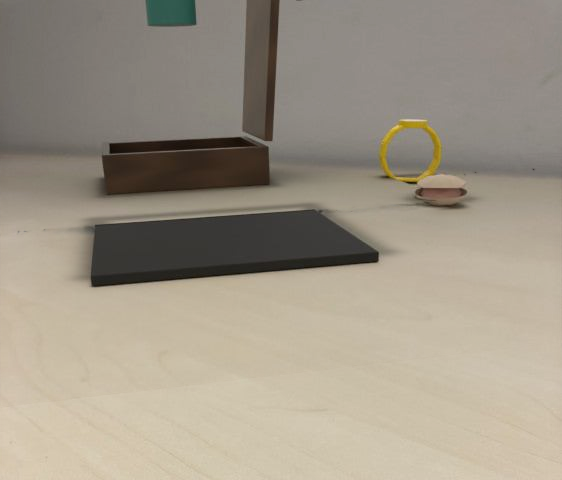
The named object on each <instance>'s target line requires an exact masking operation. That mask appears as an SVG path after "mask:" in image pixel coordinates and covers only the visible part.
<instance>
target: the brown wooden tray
mask: <svg viewBox="0 0 562 480" xmlns="http://www.w3.org/2000/svg"><path fill="white" fill-rule="evenodd" d="M269 149H270V147H269V146H268V145H266V144H264V143H262V142H259V141H258V140H255V139H253V138H251V137H248V136H246V135H237V136H235V135H233V136H218V137H197V138H196V137H195V138H193V137H192V138H179V139H178V138H174V139H155V140H154V139H153V140H135V141H134V140H133V141H115V142H113V141H112V142H103V143H102V147H101V162H102V169H103V170H102V171H103V178H104V186H105V193H106V196H117V195H130V194H131V195H133V194H134V195H135V194H147V193H164V192H179V191H180V192H181V191H182V192H183V191H195V190H211V189H212V190H213V189H227V188H228V189H229V188H242V187H245V188H246V187H257V186H258V187H261V186H270V185H271V178H270V176H271V175H270V173H271V172H270V150H269Z"/></svg>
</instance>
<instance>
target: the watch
mask: <svg viewBox="0 0 562 480" xmlns="http://www.w3.org/2000/svg"><path fill="white" fill-rule="evenodd" d="M428 124H429V123H428V120H427V119H416V118H415V119H414V118H413V119H412V118H404V119H399V120H398V124H397V125H395V126H393V127H392V128H390V130H388V131H387V133H386V134H385V136H384V138H383V139H382V140H381V142H380V147H379V152H378V160H379V164H380V167H381V170H382V172H383V173H384V174H385V176H387V177H389V178H391V179H394V180H396V181H400V182H402V183H417V182H418V181H420V180H422V179H424V178H425V177H427V176H433V175H435V173H436V171H437V169H438V167H439V165H440V163H441V160H442V143H441V141H440V138H439V136H438V134H437V132H436V131H435V130H434V129H433V128H431V127H430V126H429V125H428ZM404 129H422V131H424V132H425V133H426V134H428V135H429V137H430V139H431V142H432V145H433V157H432V160H431V162H430V164H429V166H428V167H427V170H425V172H423V173H422V174H421V175H419V176H418V177H403V176H401V177H400V176H395V175H394V174H393V172H392V171H390V168H389V165H388V162H387V159H386V158H387V152H388V148H389V147H388V145H389V144H390V142H391V141H392V139H393V138H394V136H395V135H396V134H397V133H399V132H401V131H403V130H404Z"/></svg>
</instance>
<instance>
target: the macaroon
mask: <svg viewBox="0 0 562 480" xmlns="http://www.w3.org/2000/svg"><path fill="white" fill-rule="evenodd" d="M414 188H415V190H414V195H415V197H416V199H417V200H418V199H419V200H423V203H424V204H426V205H429V206H430V205H431V206H437V207H442V206H452V205H455V204H456V203H458V202H460V201H463V200H465V198H466V196H467V194H468V190H467V189H469V187H468V185H467V182H466V181H465V180H463V179H461V178H460V177H458V176H457V175H449V174H443V173H440V174H433V175H432V176H427V177H425V178H424V179H422V180H420V181H418V182H416V185H415V187H414Z"/></svg>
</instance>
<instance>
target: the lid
mask: <svg viewBox="0 0 562 480" xmlns="http://www.w3.org/2000/svg"><path fill="white" fill-rule="evenodd" d="M295 1H297V2H301V1H303V0H295ZM245 9H246V10H245V11H246V12H245V33H244V34H245V37H244V70H243V95H242V97H243V98H242V121H241V122H242V127H241V128H242V129H241V132H243V133H245V134H248V135H250V136H252V137H255V138H257V139H259V140H261V141H264V142H273V140H274V124H275V123H274V122H275V121H274V120H275V103H276V102H275V100H276V82H277V81H276V80H277V59H278V44H279V43H278V42H279V41H278V40H279V23H280V21H279V20H280V0H246V8H245Z"/></svg>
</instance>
